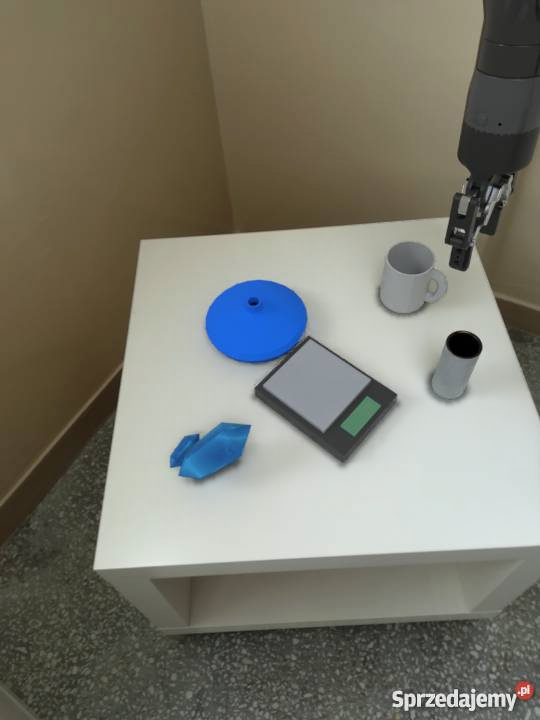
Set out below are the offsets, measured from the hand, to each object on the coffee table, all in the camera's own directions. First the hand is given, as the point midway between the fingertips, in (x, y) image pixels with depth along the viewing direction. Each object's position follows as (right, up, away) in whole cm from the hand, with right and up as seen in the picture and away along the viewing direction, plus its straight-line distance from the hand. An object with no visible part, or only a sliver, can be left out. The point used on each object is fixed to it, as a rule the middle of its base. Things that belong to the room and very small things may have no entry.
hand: (472, 249), depth 65 cm
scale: (-17, -19, +11) cm, 28 cm away
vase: (-27, -9, +19) cm, 34 cm away
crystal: (-32, -27, +7) cm, 43 cm away
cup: (-2, -4, +20) cm, 21 cm away
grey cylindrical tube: (+1, -17, +11) cm, 21 cm away
